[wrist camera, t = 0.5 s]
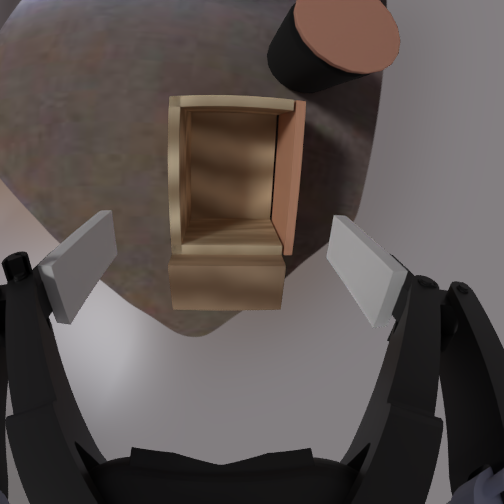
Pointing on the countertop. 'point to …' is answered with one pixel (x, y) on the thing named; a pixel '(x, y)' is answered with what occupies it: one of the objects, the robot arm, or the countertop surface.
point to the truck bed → (223, 202)
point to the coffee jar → (332, 43)
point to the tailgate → (288, 174)
